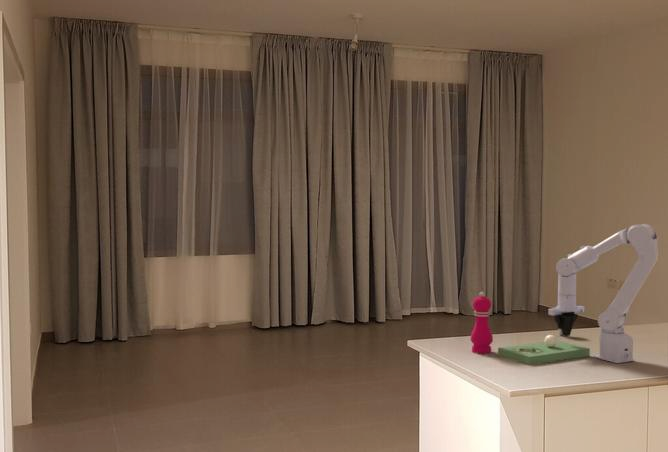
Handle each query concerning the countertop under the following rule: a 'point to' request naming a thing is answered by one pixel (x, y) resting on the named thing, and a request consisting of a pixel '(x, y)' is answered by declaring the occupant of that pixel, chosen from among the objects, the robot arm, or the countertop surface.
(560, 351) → the putting mat
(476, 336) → the pepper mill
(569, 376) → the countertop surface
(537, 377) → the countertop surface
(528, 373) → the countertop surface
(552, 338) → the golf ball
